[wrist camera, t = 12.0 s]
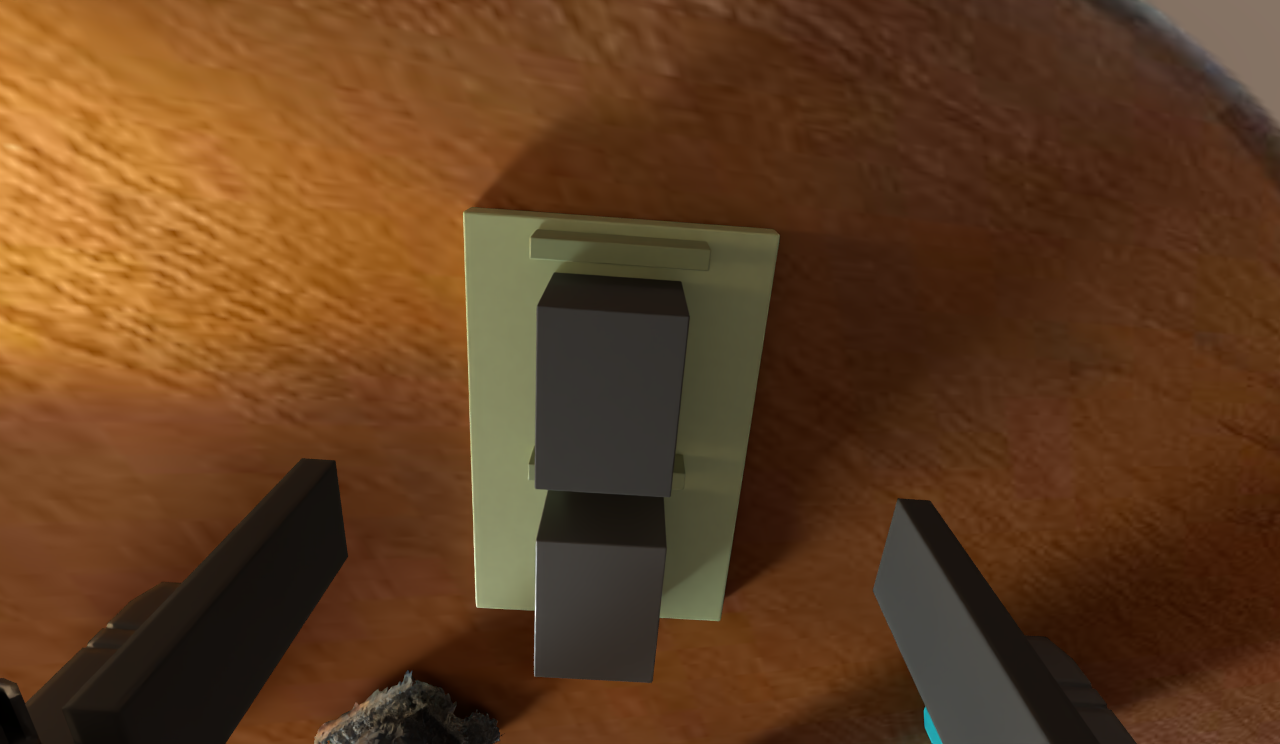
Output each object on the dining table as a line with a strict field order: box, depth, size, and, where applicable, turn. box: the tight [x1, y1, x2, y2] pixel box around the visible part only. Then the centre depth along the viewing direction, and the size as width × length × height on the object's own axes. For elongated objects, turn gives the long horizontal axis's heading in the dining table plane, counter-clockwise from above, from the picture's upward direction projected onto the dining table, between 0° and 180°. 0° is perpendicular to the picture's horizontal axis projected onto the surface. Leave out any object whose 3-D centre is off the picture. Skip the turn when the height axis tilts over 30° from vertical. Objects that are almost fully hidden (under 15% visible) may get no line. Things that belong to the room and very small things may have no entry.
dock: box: [463, 207, 780, 683], centre depth 26 cm, size 19×12×6 cm, turn 176°
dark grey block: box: [534, 272, 690, 497], centre depth 24 cm, size 7×5×4 cm
